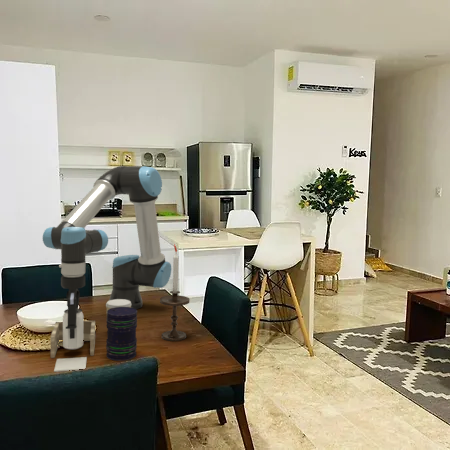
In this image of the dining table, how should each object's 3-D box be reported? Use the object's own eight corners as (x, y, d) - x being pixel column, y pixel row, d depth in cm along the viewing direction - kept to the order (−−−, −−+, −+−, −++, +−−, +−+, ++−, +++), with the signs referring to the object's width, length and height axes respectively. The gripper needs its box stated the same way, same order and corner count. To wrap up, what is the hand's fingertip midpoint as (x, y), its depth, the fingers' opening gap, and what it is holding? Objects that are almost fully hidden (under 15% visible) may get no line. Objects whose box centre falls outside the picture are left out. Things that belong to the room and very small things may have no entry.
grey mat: (57, 360, 145) (57, 358, 145) (86, 358, 147) (86, 357, 147) (54, 371, 136) (54, 370, 136) (85, 369, 139) (85, 368, 139)
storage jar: (141, 351, 155) (142, 308, 153) (129, 362, 145) (129, 316, 144) (114, 347, 157) (115, 305, 155) (100, 358, 147) (100, 313, 146)
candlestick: (159, 342, 164) (161, 246, 160) (159, 332, 174) (161, 241, 171) (189, 341, 165) (192, 246, 162) (187, 331, 176) (190, 242, 172)
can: (67, 342, 154) (67, 307, 153) (86, 343, 154) (86, 308, 152) (59, 349, 147) (59, 313, 146) (79, 350, 147) (79, 314, 146)
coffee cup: (124, 338, 166) (125, 306, 165) (101, 336, 168) (101, 304, 167) (134, 330, 175) (135, 300, 174) (112, 328, 177) (112, 297, 176)
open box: (55, 341, 161) (55, 322, 160) (95, 339, 164) (95, 320, 164) (50, 358, 146) (50, 336, 146) (93, 355, 150) (94, 334, 149)
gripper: (63, 268, 156) (63, 334, 159) (57, 281, 138) (58, 355, 140) (86, 268, 158) (86, 333, 161) (83, 281, 140) (83, 353, 142)
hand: (73, 343), depth 151 cm, fingers closed on can, 6 cm apart
